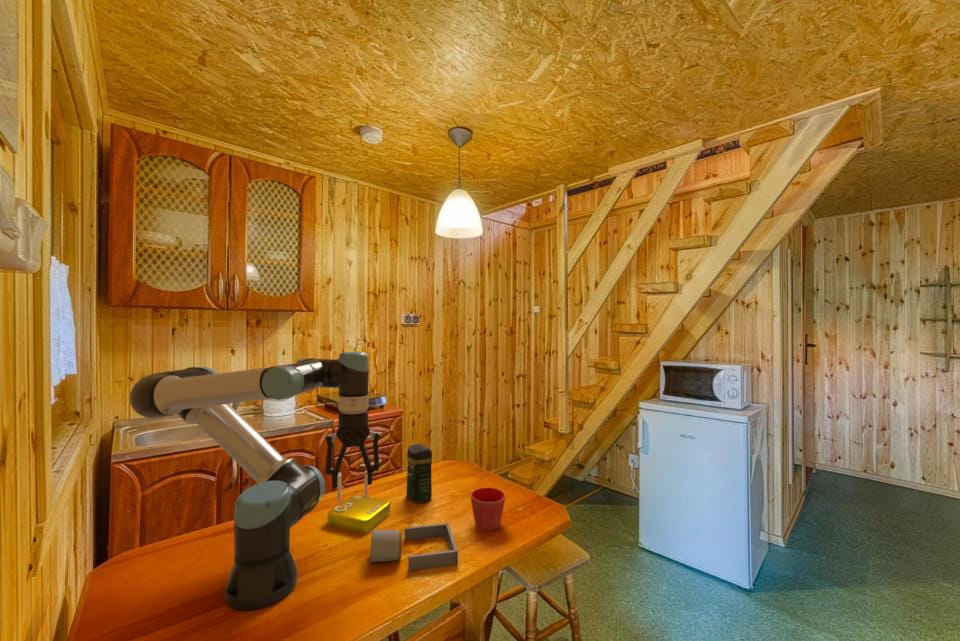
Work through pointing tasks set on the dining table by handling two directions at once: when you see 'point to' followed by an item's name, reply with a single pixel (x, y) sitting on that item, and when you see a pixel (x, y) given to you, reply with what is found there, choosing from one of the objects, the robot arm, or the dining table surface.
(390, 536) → the ceramic mug
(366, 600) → the dining table surface
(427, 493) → the coffee jar
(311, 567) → the dining table surface
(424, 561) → the box
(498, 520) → the flower pot
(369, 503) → the element tile
